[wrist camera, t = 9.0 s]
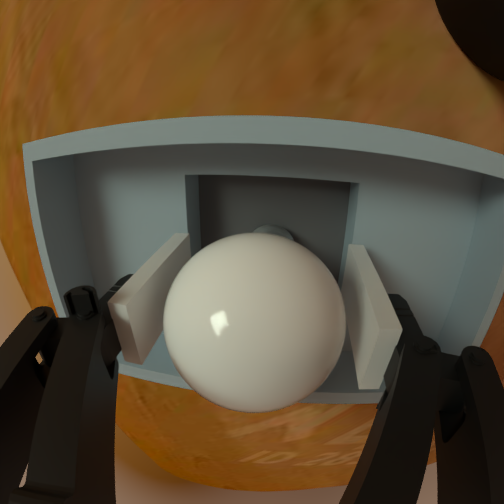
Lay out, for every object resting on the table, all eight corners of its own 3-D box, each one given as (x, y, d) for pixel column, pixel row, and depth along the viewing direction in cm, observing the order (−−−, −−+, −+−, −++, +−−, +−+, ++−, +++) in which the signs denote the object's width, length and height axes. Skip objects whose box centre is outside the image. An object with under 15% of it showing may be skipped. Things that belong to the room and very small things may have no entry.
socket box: (87, 132, 16) (22, 144, 11) (472, 149, 13) (534, 165, 8) (115, 312, 22) (76, 359, 17) (426, 338, 19) (451, 396, 14)
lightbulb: (202, 210, 17) (92, 318, 7) (307, 173, 16) (329, 255, 6) (241, 300, 19) (194, 448, 9) (338, 274, 18) (369, 429, 8)
